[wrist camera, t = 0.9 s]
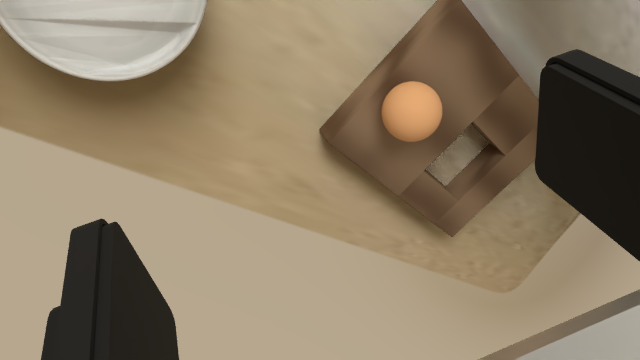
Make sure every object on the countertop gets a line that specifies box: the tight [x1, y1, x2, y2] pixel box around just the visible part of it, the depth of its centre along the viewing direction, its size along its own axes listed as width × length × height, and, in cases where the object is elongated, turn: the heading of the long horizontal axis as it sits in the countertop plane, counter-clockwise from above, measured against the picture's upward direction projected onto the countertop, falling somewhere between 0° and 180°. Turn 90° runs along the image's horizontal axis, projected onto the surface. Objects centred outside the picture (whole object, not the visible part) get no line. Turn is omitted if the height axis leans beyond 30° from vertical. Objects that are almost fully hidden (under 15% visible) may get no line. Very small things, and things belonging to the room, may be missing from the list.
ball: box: [382, 81, 443, 142], centre depth 37 cm, size 4×4×4 cm
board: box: [319, 0, 539, 237], centre depth 44 cm, size 14×18×2 cm
